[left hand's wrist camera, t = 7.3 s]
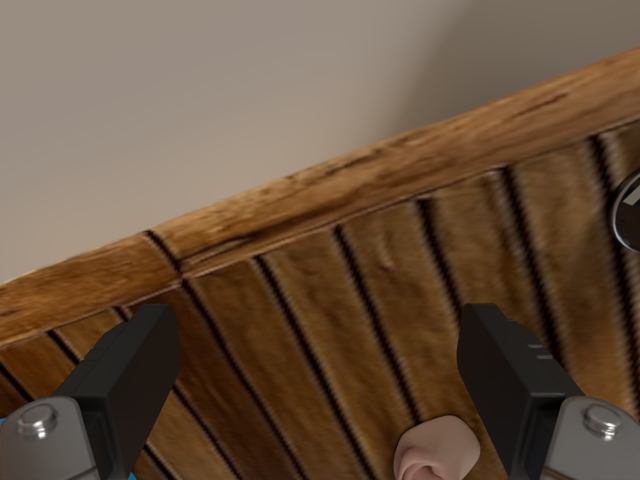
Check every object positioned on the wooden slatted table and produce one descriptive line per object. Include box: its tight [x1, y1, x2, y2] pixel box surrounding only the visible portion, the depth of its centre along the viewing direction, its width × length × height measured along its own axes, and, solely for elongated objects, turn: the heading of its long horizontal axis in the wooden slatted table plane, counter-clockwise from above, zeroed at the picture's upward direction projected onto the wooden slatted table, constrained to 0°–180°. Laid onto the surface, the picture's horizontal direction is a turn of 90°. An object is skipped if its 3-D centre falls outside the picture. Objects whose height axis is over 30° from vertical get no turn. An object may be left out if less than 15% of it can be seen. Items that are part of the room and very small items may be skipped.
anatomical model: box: [394, 416, 480, 480], centre depth 51 cm, size 13×4×12 cm
